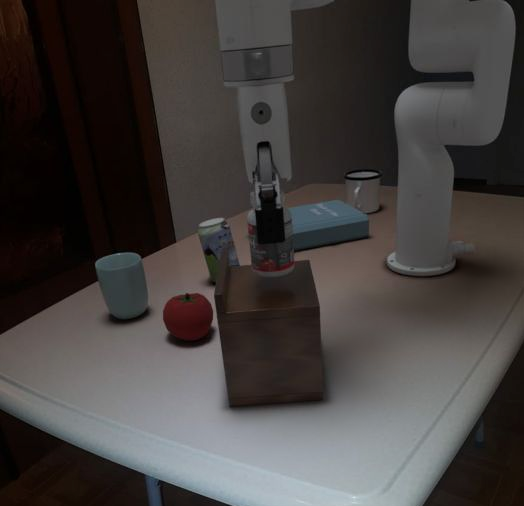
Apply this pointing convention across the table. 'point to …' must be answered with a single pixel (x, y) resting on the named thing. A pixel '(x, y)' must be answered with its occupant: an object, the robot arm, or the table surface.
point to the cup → (123, 284)
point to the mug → (363, 189)
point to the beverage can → (216, 244)
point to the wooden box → (269, 334)
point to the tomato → (188, 316)
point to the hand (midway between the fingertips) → (271, 232)
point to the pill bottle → (271, 246)
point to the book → (327, 224)
